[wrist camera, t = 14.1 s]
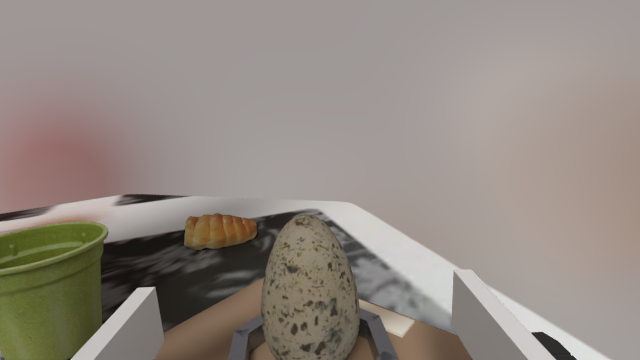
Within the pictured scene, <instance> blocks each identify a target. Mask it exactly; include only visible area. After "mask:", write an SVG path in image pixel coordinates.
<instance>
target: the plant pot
mask: <svg viewBox="0 0 640 360" xmlns="http://www.w3.org/2000/svg"><path fill="white" fill-rule="evenodd" d="M107 235H108V228H107V227H106V226H105V225H102V224H100V223H95V222H69V223H58V224H50V225H44V226H39V227H34V228H29V229H24V230H19V231H15V232H10V233H6V234H3V235H0V351H1V353H2V355H3V357H4V359H5V360H67V359H69V358H71V357H73V356H74V355H75V354H76V353H77V352H78V351H79V350H80V349H81V348H82V347H83V346H84V345H85V344H86V343H87V341H88V340H89V339H90V338H91V337H92V336H93V335H94V334H95V333H96V332H97V331H98V330H99V329H100V328H101V326H102V301H101V262H100V257H101V256H102V253H103V241H104V239H105V238H106V237H107Z"/></svg>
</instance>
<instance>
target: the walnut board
mask: <svg viewBox="0 0 640 360" xmlns="http://www.w3.org/2000/svg"><path fill="white" fill-rule="evenodd" d="M263 282H264V278H262V279H261V280H259V281H257V282H255V283H253V284H252V285H250V286H248V287H246V288H244V289H242V290H241V291H239V292H237V293H235V294H233V295H232V296H230V297H228V298H226V299H224V300H223V301H221V302H219V303H217V304H215V305H213V306H212V307H210V308H208V309H206V310H204V311H203V312H201V313H199V314H197V315H195V316H194V317H192V318H190V319H188V320H186V321H184V322H183V323H181V324H179V325H177V326H175V327H174V328H172V329H170V330H168V331H166V332H165V333H163V334H164V340H165V342H164V344H163V345H162V347H161V348H160V350H159V352H158V353H157V355H156V357H155V358H154V360H228V357H229V353H230V348H231V344H232V339H233V335H234V331H235V330H236V329H238V328H240V327H241V326H243V325H244V324H246V323H247V322H249V321H250V320H252V319H253V318H255V317H256V316H258V315H260V314H261V296H262V288H263ZM358 299H359V307H360V308H362V309H364V310H367V311H369V312H372V313H374V314H377V315H379V316H380V318H381V320H382V323H383V325H384V327H385V329H386V332H387V334H388V336H389V338H390V341H391V343H392V345H393V347H394V350H395V352H396V354H397V356H398V358H399V360H473V359H472V358H471V356H470V354H469V353H468V351H467V350H466V348H465V346H464V345H463V343H462V341H461V340H460V338H459V337H458V336H457V335H454V334H452V333H449V332H447V331H444V330H441V329H439V328H436V327H433V326H431V325H428V324H426V323H423V322H420V321H418V320H415V319H412V318H410V317H407V316H405V315H402V314H399V313H397V312H394V311H391V310H389V309H386V308H384V307H381V306H378V305H376V304H373V303H370V302H368V301H365V300H363V299H360V298H358ZM250 360H276V359H275V357H274V356H273V354H272V353H271V351H270V349H269V347H268V345H267V342H265V343H263V344H262V345H261V346H259V347H258V348H256V349H255V350H254V351H252V352H251V355H250ZM346 360H374V358H373V355H372V352H371V349H370V347H369V344H368V341H367V339H364V338H362V337H360V336H358V335H357V339H356V342H355V345H354V347H353V349H352V351H351V353H350V355H349V356H348V358H347V359H346Z"/></svg>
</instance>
